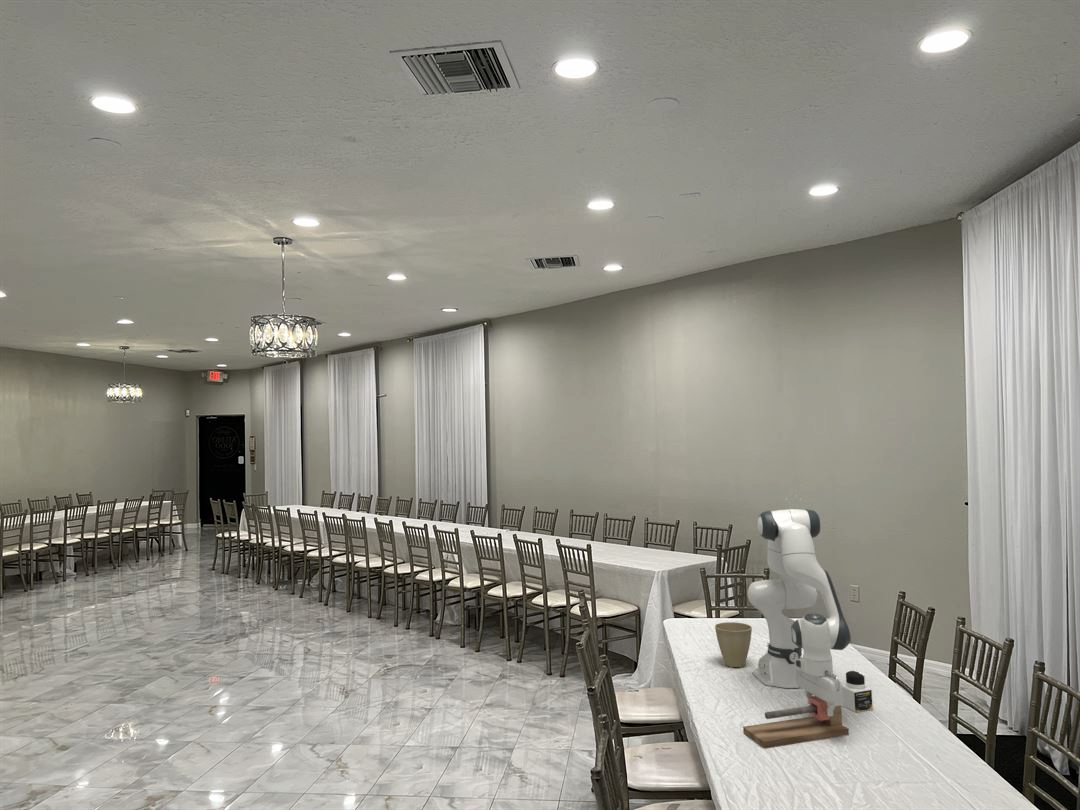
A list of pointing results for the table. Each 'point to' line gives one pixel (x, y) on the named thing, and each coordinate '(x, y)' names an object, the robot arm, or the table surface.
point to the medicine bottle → (856, 692)
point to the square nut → (819, 708)
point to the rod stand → (796, 727)
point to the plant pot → (734, 642)
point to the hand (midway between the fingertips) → (820, 710)
